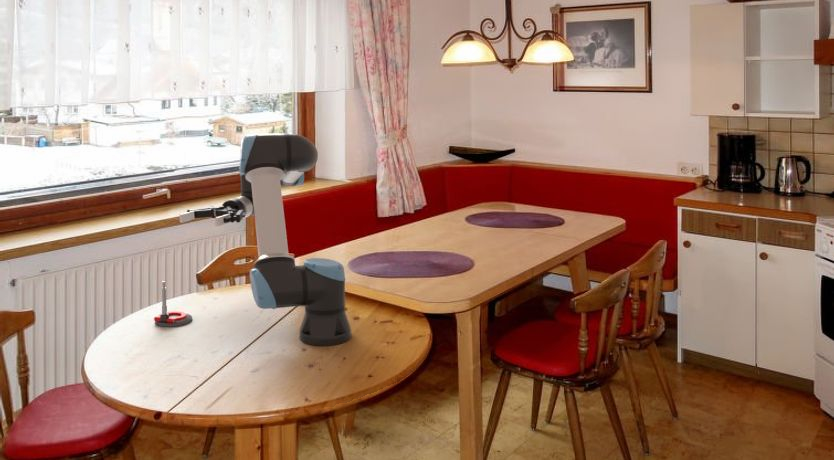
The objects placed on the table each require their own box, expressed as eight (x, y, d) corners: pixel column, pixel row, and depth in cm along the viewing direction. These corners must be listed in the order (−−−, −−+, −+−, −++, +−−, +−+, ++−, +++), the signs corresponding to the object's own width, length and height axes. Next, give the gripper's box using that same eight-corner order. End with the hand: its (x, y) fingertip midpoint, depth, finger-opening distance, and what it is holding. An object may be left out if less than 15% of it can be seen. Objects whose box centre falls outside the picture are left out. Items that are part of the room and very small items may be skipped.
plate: (185, 327, 226) (185, 324, 226) (149, 326, 226) (149, 324, 226) (196, 315, 237) (196, 312, 236) (162, 315, 237) (162, 312, 236)
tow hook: (168, 313, 236) (151, 321, 228) (167, 274, 234) (149, 280, 225) (191, 316, 234) (175, 324, 226) (191, 276, 232) (174, 283, 223)
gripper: (268, 222, 252) (232, 235, 232) (206, 217, 260) (166, 228, 241) (267, 201, 250) (231, 211, 231) (205, 195, 259) (165, 205, 239)
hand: (198, 220), depth 236 cm, fingers open, 13 cm apart
